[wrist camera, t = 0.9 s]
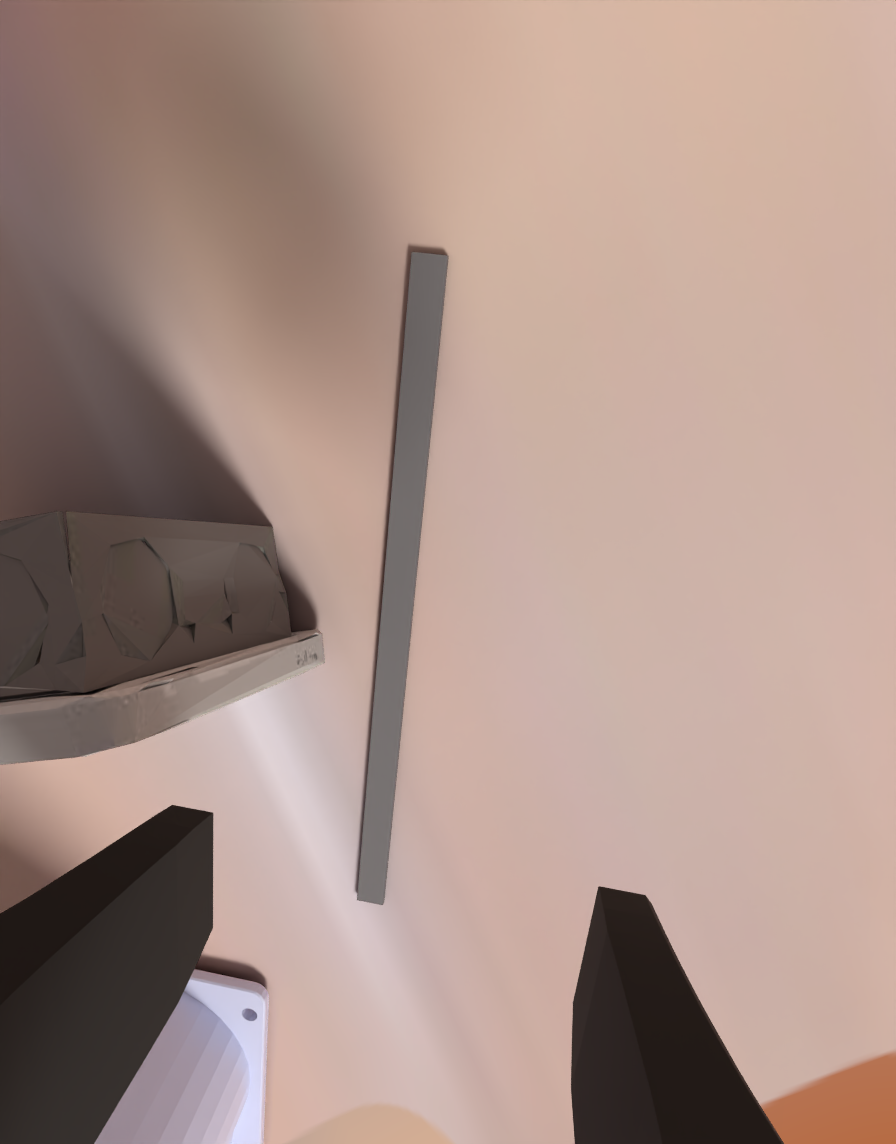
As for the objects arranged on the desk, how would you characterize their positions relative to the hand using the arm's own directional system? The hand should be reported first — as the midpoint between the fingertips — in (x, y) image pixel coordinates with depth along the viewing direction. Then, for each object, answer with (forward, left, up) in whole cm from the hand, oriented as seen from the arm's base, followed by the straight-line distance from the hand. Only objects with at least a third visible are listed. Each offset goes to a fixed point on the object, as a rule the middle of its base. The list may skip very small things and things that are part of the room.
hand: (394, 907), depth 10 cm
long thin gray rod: (0, +2, -9) cm, 10 cm away
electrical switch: (0, +9, -10) cm, 13 cm away
